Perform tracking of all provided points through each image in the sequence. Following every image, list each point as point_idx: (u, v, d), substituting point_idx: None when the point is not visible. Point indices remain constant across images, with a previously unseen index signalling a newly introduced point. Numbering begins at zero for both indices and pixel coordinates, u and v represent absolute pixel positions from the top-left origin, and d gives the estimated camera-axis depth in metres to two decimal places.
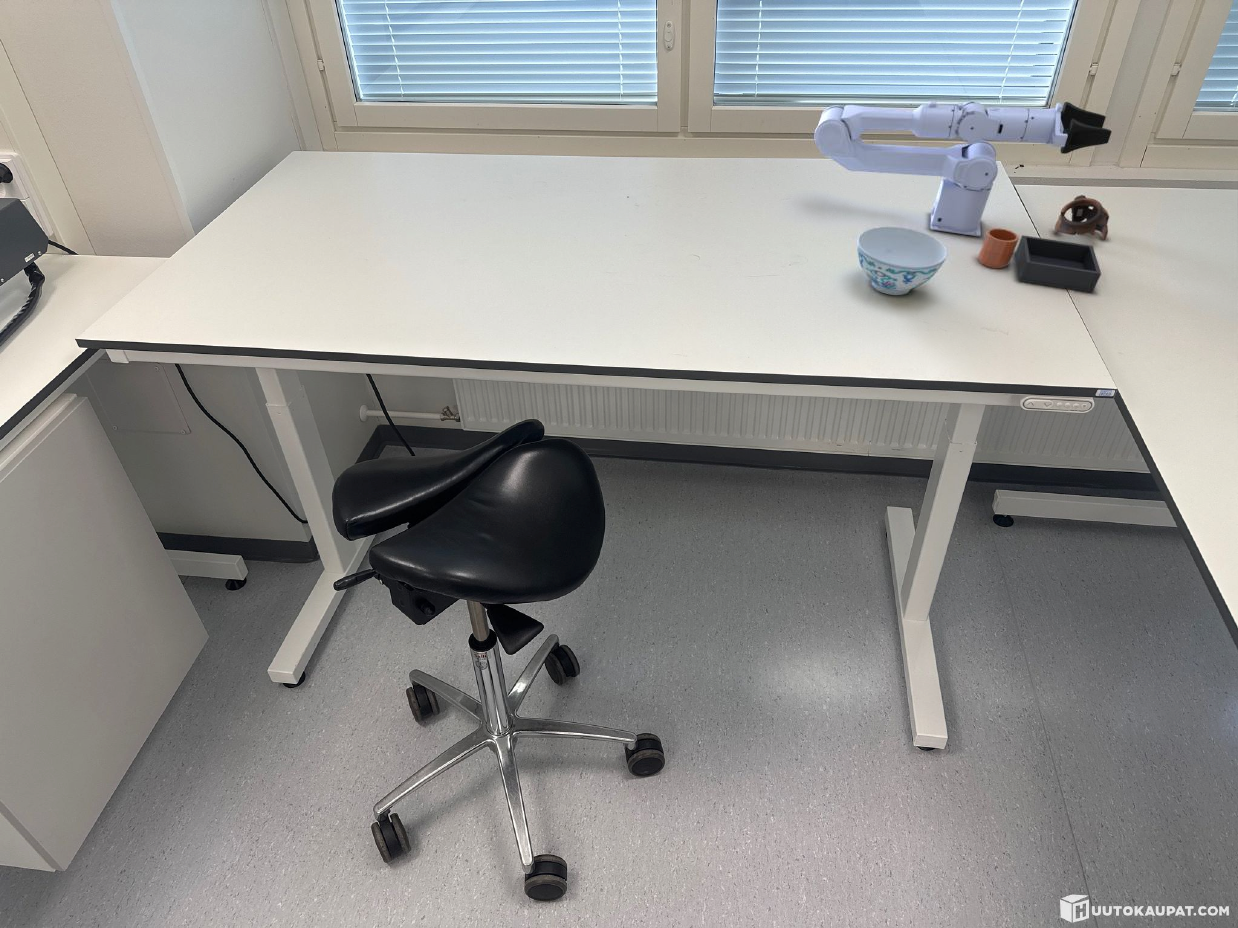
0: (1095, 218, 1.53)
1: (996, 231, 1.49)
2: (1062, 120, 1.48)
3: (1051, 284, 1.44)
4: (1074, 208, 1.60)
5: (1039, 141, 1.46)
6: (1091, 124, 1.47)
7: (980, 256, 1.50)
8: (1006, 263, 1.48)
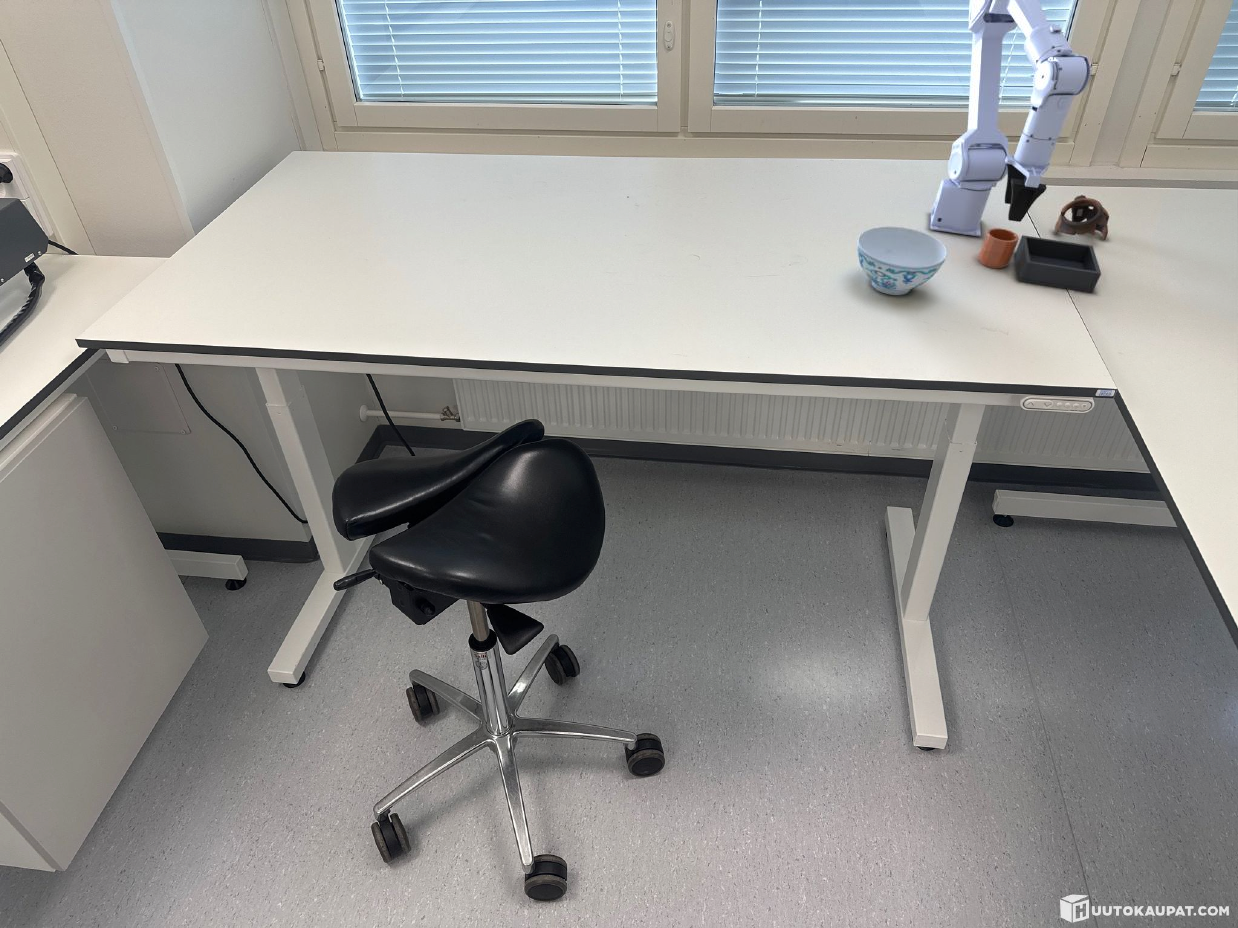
0: (1095, 218, 1.53)
1: (996, 231, 1.49)
2: None
3: (1051, 284, 1.44)
4: (1074, 208, 1.60)
5: None
6: None
7: (980, 256, 1.50)
8: (1006, 263, 1.48)
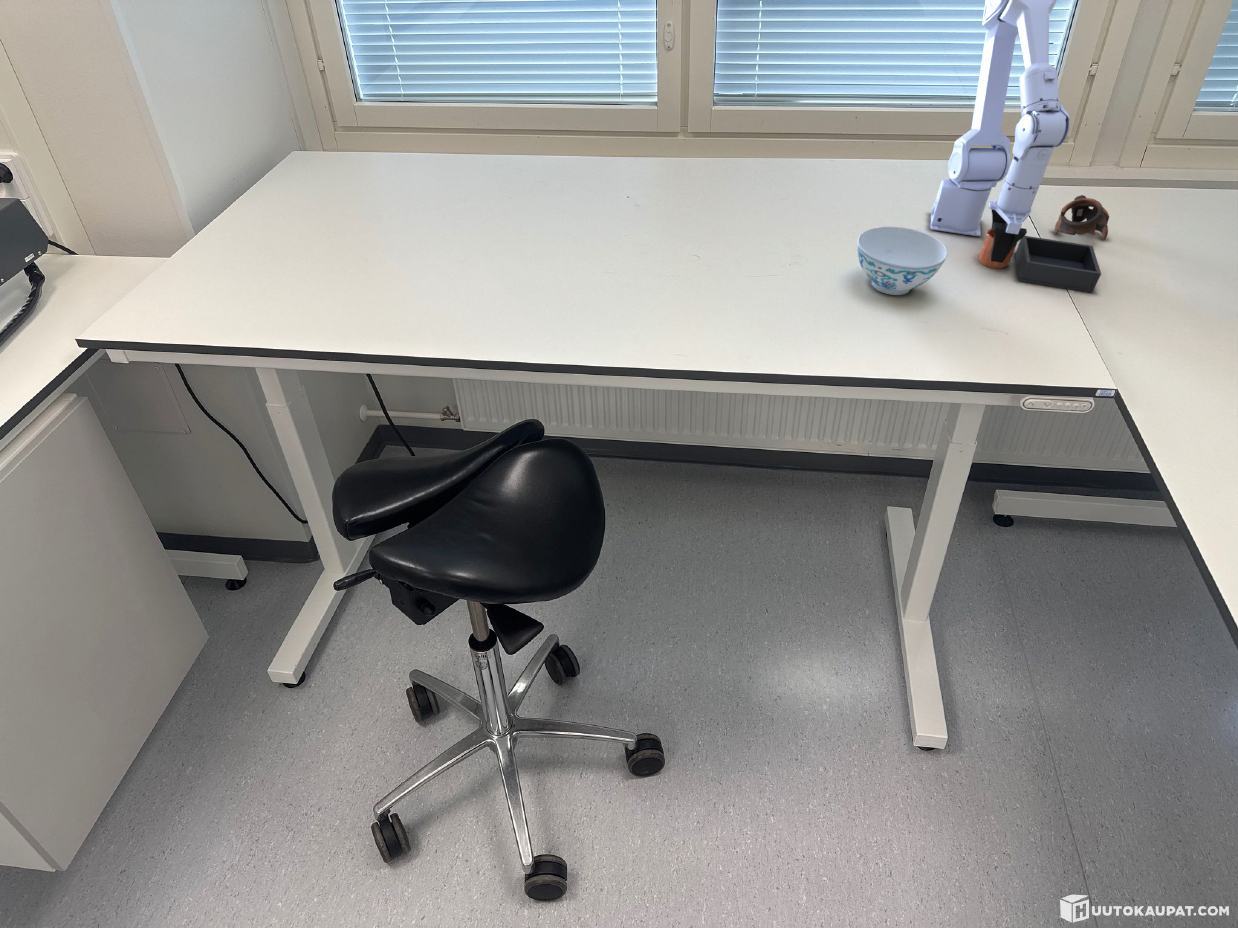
0: (1095, 218, 1.53)
1: None
2: None
3: (1051, 284, 1.44)
4: (1074, 208, 1.60)
5: None
6: None
7: (980, 256, 1.50)
8: (1006, 263, 1.48)
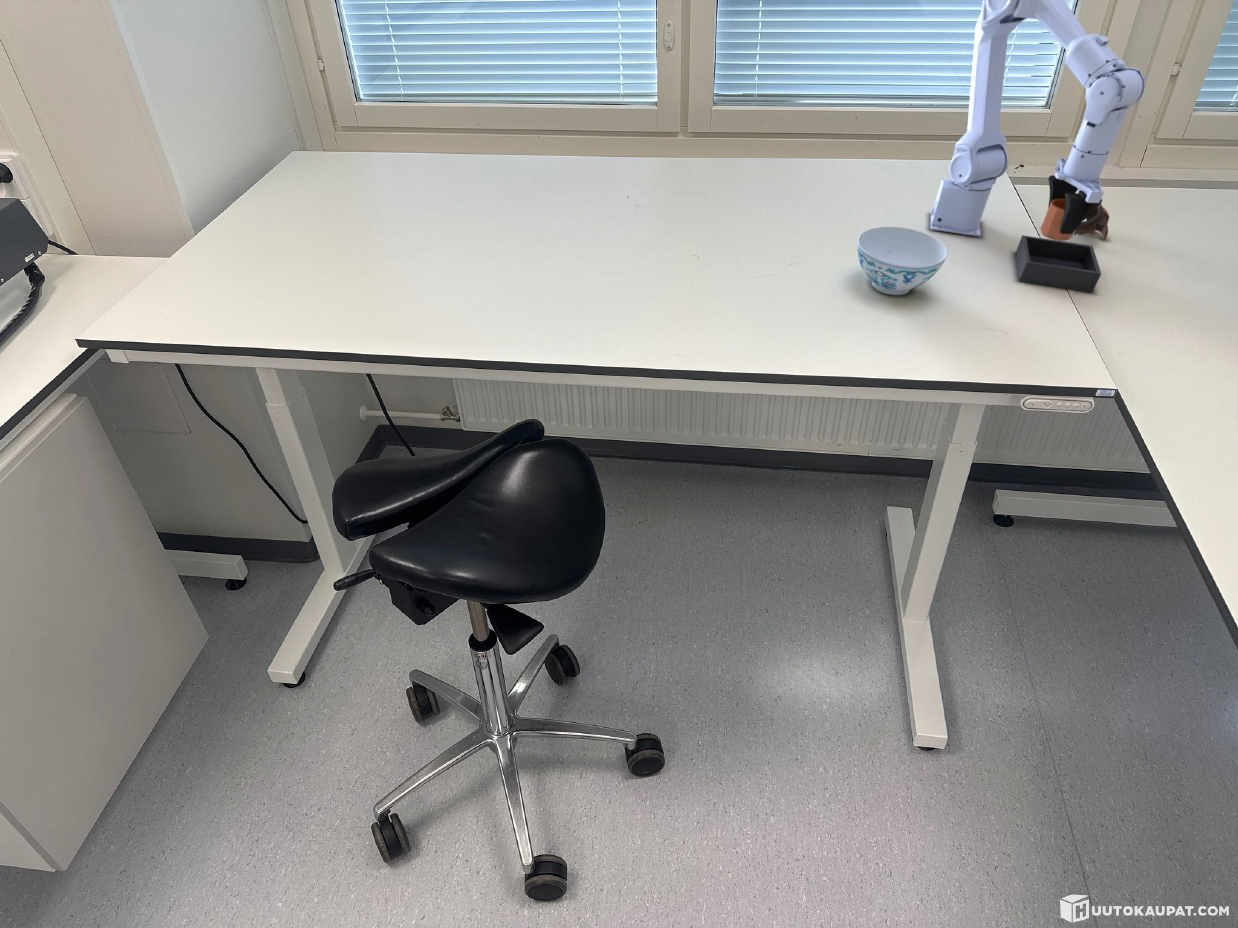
0: (1095, 218, 1.53)
1: (1057, 202, 1.42)
2: None
3: (1051, 284, 1.44)
4: None
5: None
6: None
7: (1045, 230, 1.42)
8: (1073, 234, 1.42)
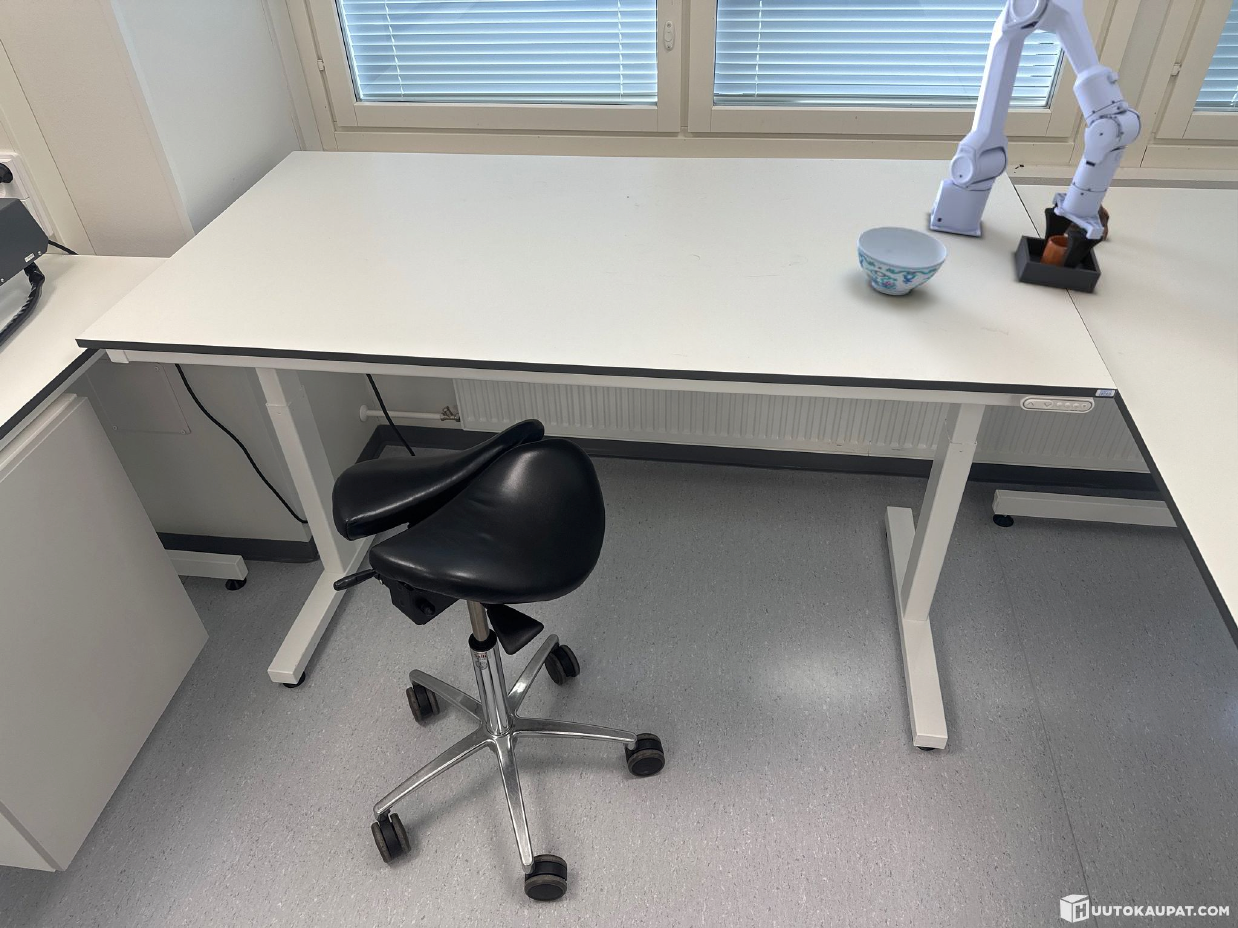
0: None
1: (1054, 239, 1.46)
2: None
3: (1051, 284, 1.44)
4: None
5: None
6: None
7: None
8: None
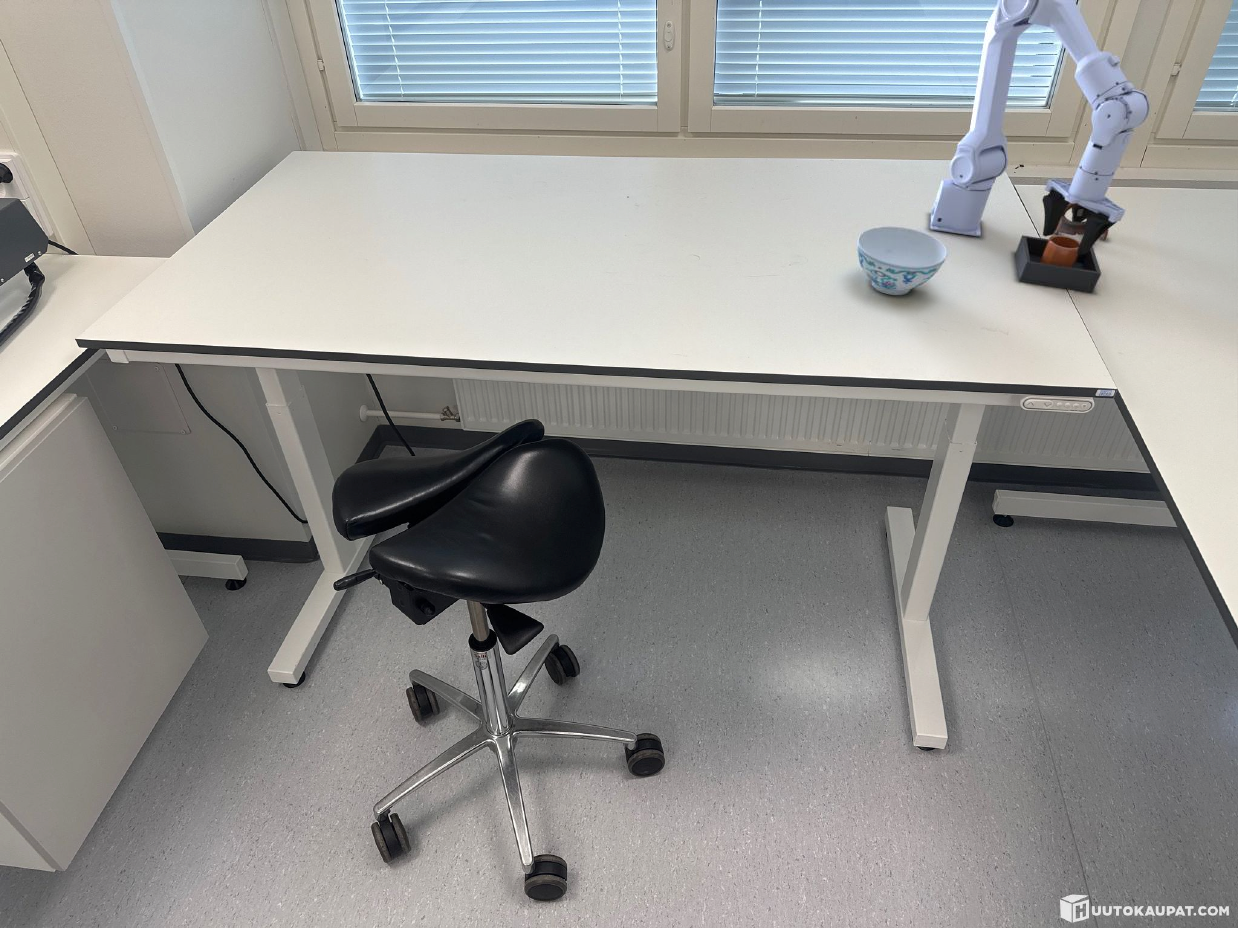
0: None
1: (1054, 239, 1.46)
2: None
3: (1051, 284, 1.44)
4: (1074, 208, 1.60)
5: None
6: None
7: None
8: None
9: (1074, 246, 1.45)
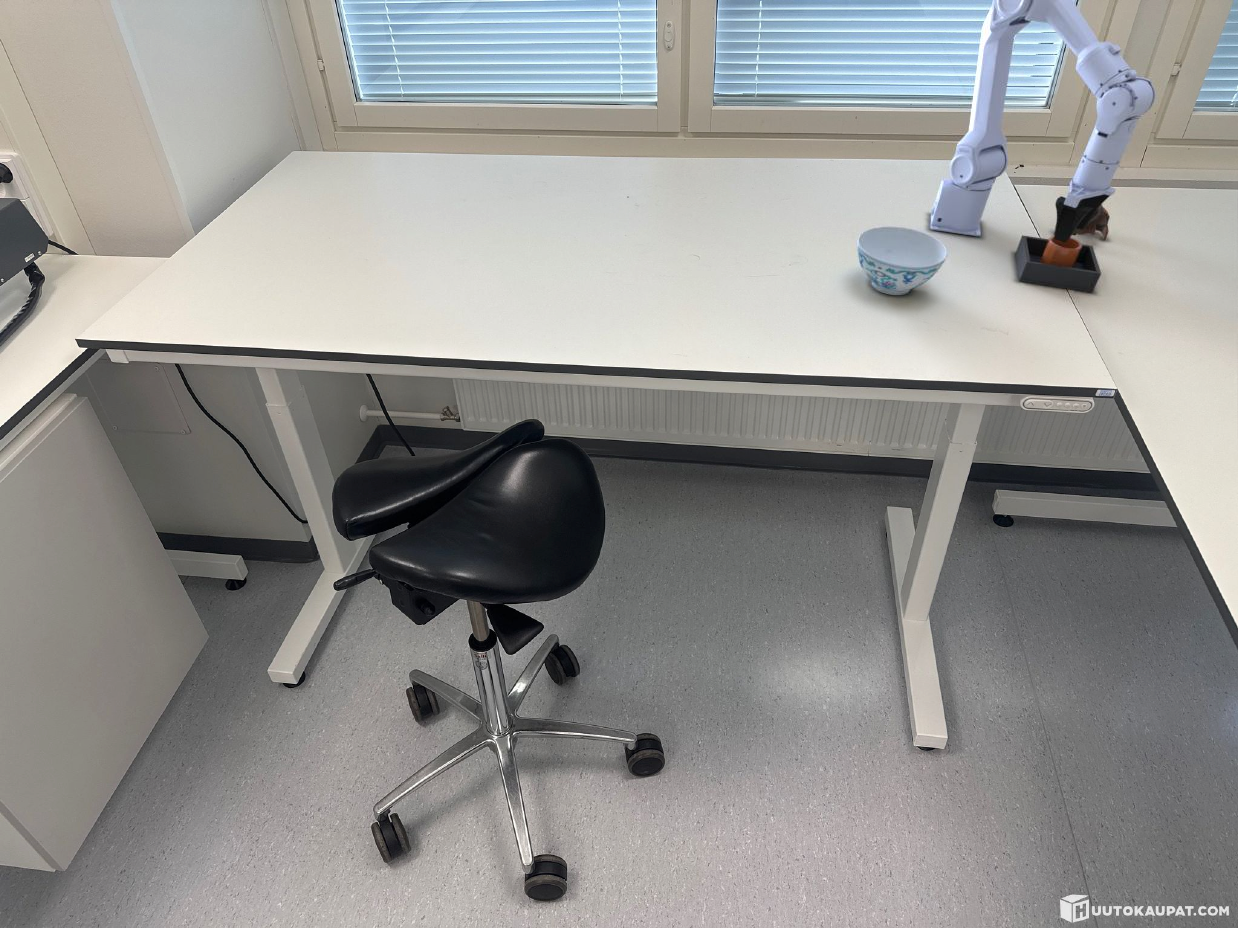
0: (1095, 218, 1.53)
1: (1054, 239, 1.46)
2: None
3: (1051, 284, 1.44)
4: None
5: (1077, 174, 1.36)
6: None
7: None
8: None
9: (1074, 246, 1.45)
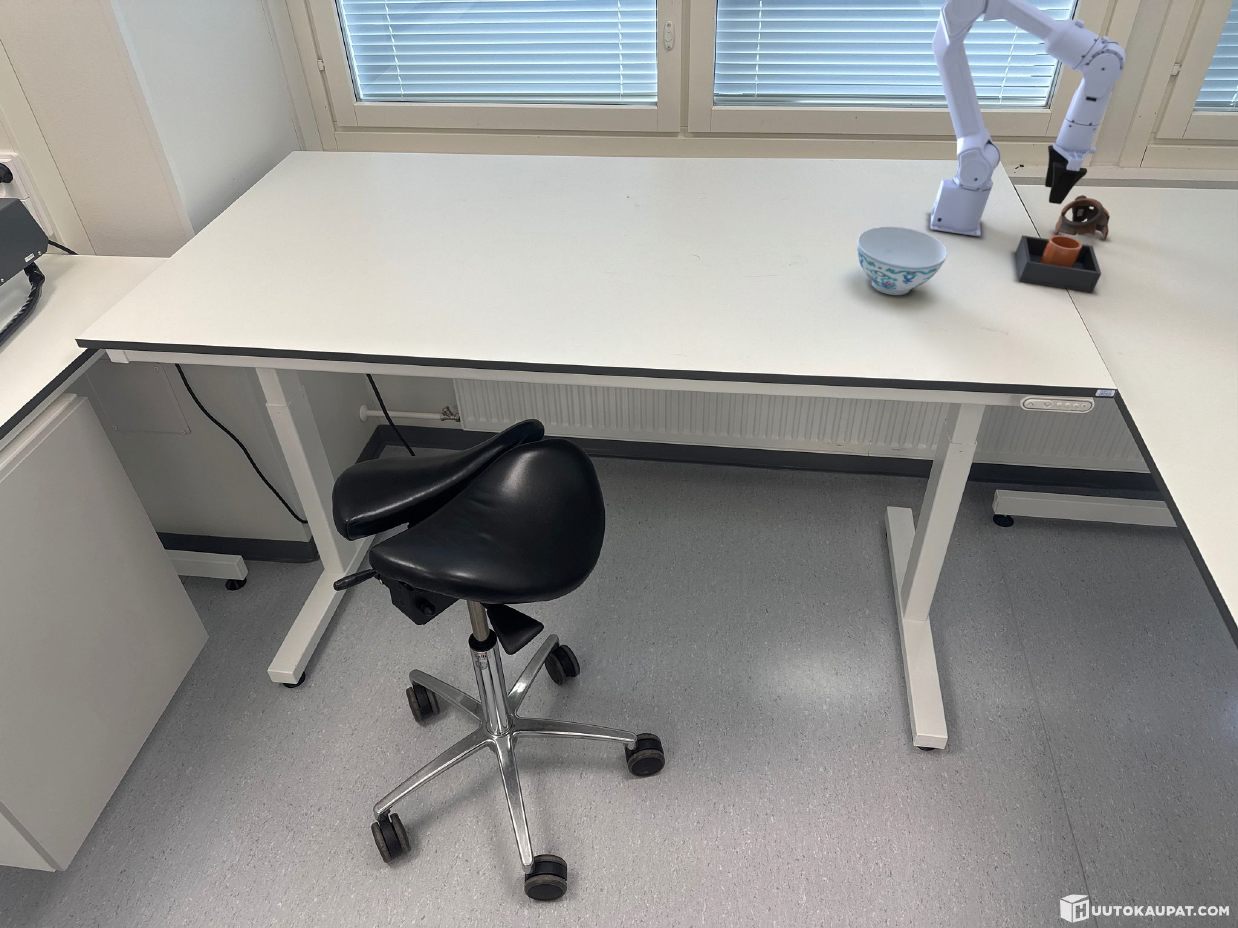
0: (1096, 218, 1.53)
1: (1054, 239, 1.46)
2: None
3: (1051, 284, 1.44)
4: (1075, 208, 1.60)
5: (1064, 139, 1.42)
6: (1052, 177, 1.52)
7: None
8: None
9: (1074, 246, 1.45)
